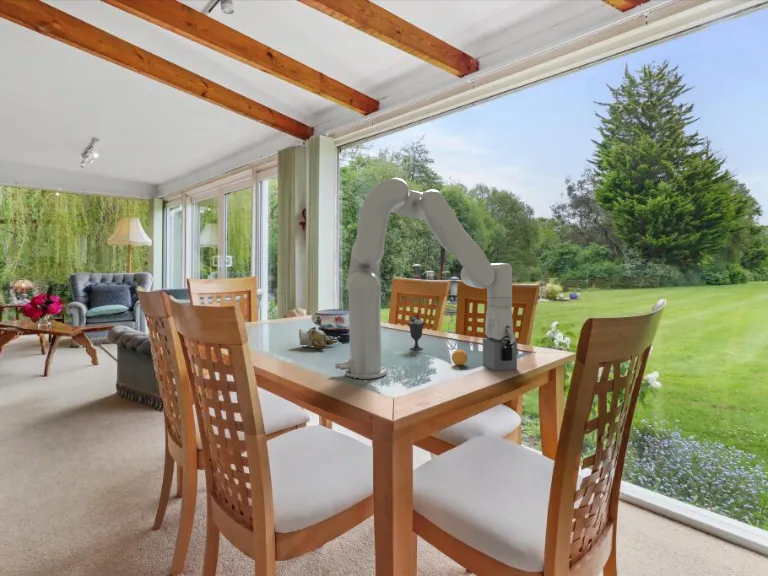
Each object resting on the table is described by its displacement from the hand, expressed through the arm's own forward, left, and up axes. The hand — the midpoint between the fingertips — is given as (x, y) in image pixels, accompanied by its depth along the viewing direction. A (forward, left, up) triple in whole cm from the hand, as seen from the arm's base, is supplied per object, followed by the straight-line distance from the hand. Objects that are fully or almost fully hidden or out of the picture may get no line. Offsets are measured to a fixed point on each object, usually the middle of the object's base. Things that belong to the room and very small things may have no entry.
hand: (499, 357), depth 137 cm
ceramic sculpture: (-54, +49, -4) cm, 73 cm away
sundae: (-17, +33, -3) cm, 37 cm away
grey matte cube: (0, 0, -3) cm, 3 cm away
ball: (-11, +6, -1) cm, 13 cm away
